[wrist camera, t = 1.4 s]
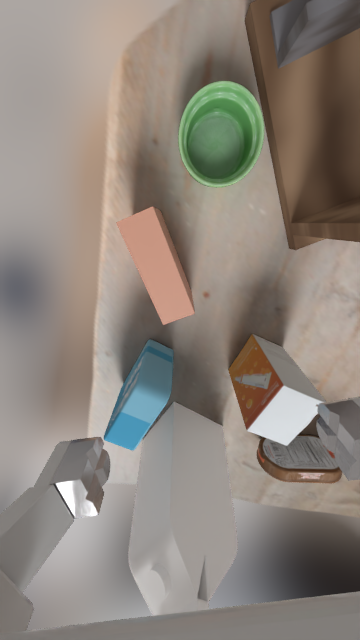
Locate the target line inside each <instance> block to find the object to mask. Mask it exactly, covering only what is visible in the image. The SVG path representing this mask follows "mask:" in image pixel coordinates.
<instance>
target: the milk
mask: <svg viewBox="0 0 360 640" xmlns="http://www.w3.org/2000/svg"><path fill="white" fill-rule="evenodd" d="M237 547H238V539H237V531H236V524H235V516H234V508H233V501H232V493H231V485H230V478H229V470H228V463H227V455H226V447H225V440H224V432H223V426H221V425H219V424H217V423H215V422H214V421H212V420H210V419H208V418H206V417H204V416H202V415H200V414H198V413H196V412H194V411H192V410H190V409H188V408H186V407H184V406H182V405H180V404H178V403H176V402H173V403H172V405H171V406H170V407H169V408H168V409H167V411H166V412H165V413H164V414H163V415H162V417H161V418H160V419H159V420H158V422H157V423H156V424H155V425H154V426H153V428H152V429H151V430H150V431H149V432H148V434H147V435H146V436H145V437H144V438H143V442H142V450H141V457H140V465H139V473H138V480H137V489H136V496H135V504H134V511H133V520H132V528H131V535H130V542H129V550H128V560H129V566H130V569H131V572H132V575H133V577H134V579H135V581H136V583H137V585H138V587H139V589H140V591H141V593H142V595H143V597H144V599H145V601H146V603H147V605H148V607H149V609H150V611H151V613H152V615H153V616H155V615H164V614H173V613H181V612H190V611H198V610H207V609H209V604H208V602H209V601H210V599H211V597H212V596H213V594H214V592H215V591H216V589H217V588H218V586H219V584H220V583H221V581H222V579H223V578H224V576H225V574H226V573H227V571H228V569H229V568H230V566H231V565H232V563H233V561H234V559H235V556H236V553H237Z"/></svg>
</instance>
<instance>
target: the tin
mask: <svg viewBox="0 0 360 640" xmlns="http://www.w3.org/2000/svg"><path fill="white" fill-rule="evenodd" d="M257 459H258V462H259V464H260V465H261V467H262V468H263V469H264V470H265V471H266V472H267V473H268V474H269V475H270V476H272V477H274V478H276V479H278V480H280V481H283V482H299V483H335V482H337V481H339V480H340V478H341V475H342V471H341V469H340V468H339V466H338V465H337V463H336V462H335V454H334V453H332V452H331V451H329V450H328V449H326V448H325V446H324V445H323V443H322V441H321V439H320V438H319V437H316V436H313V435H297V436H296V437H295V438H294V439H293V440H292V441H291V442H290V443H289V444H288V445H287V446H286V445H283V444H281V443H278V442H276V441H273V440H270V439H268V438H265V437H263V438H262V439H261V440H260V442H259V446H258V450H257Z"/></svg>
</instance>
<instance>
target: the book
mask: <svg viewBox="0 0 360 640" xmlns="http://www.w3.org/2000/svg"><path fill="white" fill-rule="evenodd" d="M116 223H117V226H118V228H119V230H120V232H121V234H122V237H123V239H124V241H125V243H126V245H127V247H128V250H129V252H130V254H131V256H132V258H133V260H134V263H135V265H136V267H137V269H138V271H139V273H140V276H141V278H142V280H143V282H144V284H145V287H146V289H147V291H148V293H149V295H150V297H151V300H152V302H153V304H154V306H155V308H156V310H157V313H158V315H159V317H160V319H161V321H162V323H163V325H165V324H167V323H170V322H173V321H176V320H179V319H181V318H184V317H187V316H190V315H192V314H195V311H194V304H193V298H192V292H191V289H190V287H189V284H188V281H187V279H186V276H185V274H184V271H183V268H182V266H181V263H180V260H179V258H178V255H177V253H176V250H175V247H174V245H173V242H172V240H171V237H170V234H169V232H168V229H167V227H166V224H165V221H164V219H163V216H162V213H161V211H160V210H158V209H157V208H155V207H153V206H152V207H150V208H148V209H145V210H143V211H141V212H139V213H137V214H134V215H132V216H130V217H128V218H125V219H123V220H121V221H119V222H116Z"/></svg>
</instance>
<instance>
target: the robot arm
mask: <svg viewBox="0 0 360 640" xmlns="http://www.w3.org/2000/svg"><path fill="white" fill-rule="evenodd" d="M317 412H318V413H319V414H320V417H319V419H318V420H317V431H318V435H319V437H320V439H321V441H322V443H323V445H324V446H325V448H326V449H328V450H329V451H331V452H332V453H334V454H335V462H336V463H337V465H338V466H339V468H340V469H341V471H342V472H343V473H344V475H345V476H346V478H347V479H348V481H349V480H358V479H360V397H355V398H349V399H342V400H336V401H330V402H324V403H319V405H318V409H317ZM103 445H104V442H103V440H102V438H101V437H94V438H85V439H77V440H71V441H63V442H60V443H59V444H57V445H56V447H55V449H54V451H53V453H52V454H51V456H50V458H49V460H48V462H47V464H46V466H45V467H44V469H43V471H42V473H41V474H40V476H39V478H38V480H37V482H36V484H35V485H34V487H32V488H29V489H28V490H26V491H25V492H24V493H23V494H22V495H21V496H20V497H19V498H18V499H17V500H16V501H14V502H13V503H12V504H11V505H10V506H9V507H8V508H7V509H6V510H5V511H4V512H2V513H1V514H0V640H360V592H353V593H344V594H336V595H327V596H319V597H310V598H301V599H293V600H285V601H276V602H267V603H258V604H250V605H241V606H233V607H225V608H216V609H207V610H198V611H190V612H181V613H173V614H164V615H155V616H147V617H138V618H130V619H121V620H113V621H104V622H96V623H88V624H78V625H70V626H61V627H53V628H44V629H36V630H27V627H28V625H29V622H30V619H31V616H32V613H33V610H34V608H33V604H32V602H31V601H30V600H29V599H28V598H27V597H26V596H25V595H24V594H23V592H24V590H25V589H26V587H27V586H28V585H29V583H30V582H31V580H32V579H33V578H34V576H35V575H36V573H37V572H38V571H39V569H40V568H41V566H42V565H43V564H44V562H45V561H46V559H47V558H48V557H49V555H50V554H51V552H52V551H53V550H54V548H55V547H56V545H57V544H58V543H59V541H60V540H61V538H62V537H63V536H64V534H65V533H66V531H67V530H68V529H69V527H70V526H71V524H72V523H73V522H74V519H76V518H82V517H87V516H94V515H98V514H99V511H100V507H101V504H102V500H103V496H104V491H103V489H102V486H103V485H104V484H105V483H106V481H107V480H108V477H109V473H110V458H109V454H108V452H107V451H105V450H104V449H102V448H103ZM26 630H27V631H26Z"/></svg>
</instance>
